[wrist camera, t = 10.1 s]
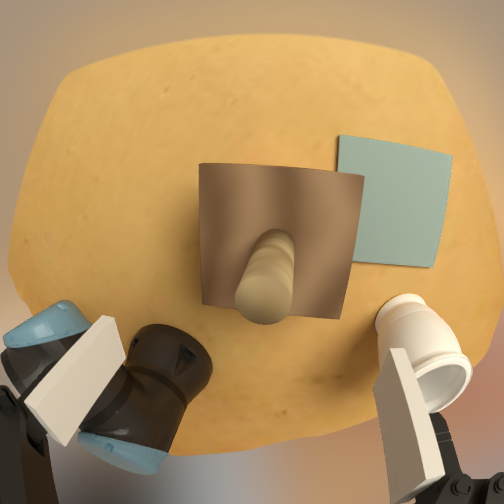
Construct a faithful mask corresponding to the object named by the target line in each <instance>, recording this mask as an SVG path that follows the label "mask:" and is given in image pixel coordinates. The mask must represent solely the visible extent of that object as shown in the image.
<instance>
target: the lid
mask: <svg viewBox="0 0 504 504" xmlns="http://www.w3.org/2000/svg"><path fill="white" fill-rule="evenodd" d="M364 179H365V176H363V175H359V174H351V173H344V172H336V171H327V170H318V169H308V168H297V167H285V166H271V165H253V164H229V163H201V164H199V233H200V263H201V285H202V303H203V304H204V305H211V306H218V307H225V308H233V309H238V311H239V312H240V314H241V315H242V316H243V317H245V318H246V319H247V320H249V321H251V322H253V323H257V324H262V325H269V324H274V323H277V322H279V321H281V320H282V319H284V318H285V317H286V316H287V315H293V316H303V317H315V318H327V319H340V315H341V311H342V307H343V303H344V298H345V294H346V289H347V285H348V280H349V275H350V270H351V265H352V260H353V254H354V249H355V243H356V237H357V231H358V225H359V218H360V211H361V204H362V196H363V188H364Z"/></svg>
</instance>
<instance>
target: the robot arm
mask: <svg viewBox="0 0 504 504" xmlns="http://www.w3.org/2000/svg"><path fill="white" fill-rule="evenodd" d="M3 341H4V344H5V346H6V347H7V349H5V350H4V351H3V352H2V353H1V354H0V504H59V502H58V497H57V493H56V489H55V484H54V479H53V473H52V468H51V461H50V454H49V446H48V440H47V437H46V434H47V433H49V434H50V436H51V437H52V438H53V439H54V440H55V441H57V442H59V443H60V444H62V445H64V446H66V445H67V443H68V442H69V440H70V439H71V437H72V436H73V434H74V432H75V431H76V430H77V428H80V430H81V432H79V433H78V442H79V443H80V444H81V445H82V446H83V447H84V448H85V449H86V450H87V451H89V452H90V453H92V454H93V455H95V456H97V457H98V458H100V459H102V460H104V461H106V462H108V463H110V464H112V465H114V466H117V467H119V468H122V469H124V470H127V471H130V472H134V473H137V474H143V475H151V474H154V473H156V472H157V471H158V470H159V469H160V466H161V465H162V463H163V461H164V459H165V457H167V456H168V452H169V449H170V447H171V444H172V442H173V439H174V437H175V434H176V432H177V430H178V427H179V425H180V422H181V420H182V417H183V415H184V412H185V410H186V408H187V405H188V404H189V403H190V402H191V401H192V400H193V399H194V398H195V397H196V396H197V395H198V394H199V393H200V392H201V391H202V390H203V389H204V388H205V387H206V386H207V384H208V382H209V380H210V377H211V375H212V371H213V366H212V361H211V358H210V356H209V354H208V353H207V351H206V350H205V349H204V347H203V346H202V345H201V344H200V343H199V342H198V341H197V340H195V339H194V338H193V337H192V336H190V335H189V334H187V333H185V332H183V331H181V330H179V329H177V328H174V327H171V326H168V325H162V324H152V325H147V326H145V327H143V328H141V329H140V330H139V331H138V333H137V334H136V335H135V336H134V338H133V339H132V341H131V344H130V347H129V351H128V356H127V360H126V364H125V366H124V365H123V364H122V363H123V362H124V360H125V359H126V355H125V352H124V349H123V346H122V343H121V340H120V336H119V333H118V330H117V326H116V322H115V319H114V317H109V316H105V315H102V316H101V317H100V318H99V319H98V320H97V321H96V322H95V323H94V324H92V323H91V322H89V321H88V320H87V319H86V318H85V316H84V315H83V314H82V313H81V311H80V310H79V309H78V307H77V306H76V305H75V304H74V303H73V302H71V301H69V300H61V301H59V302H57V303H55V304H53V305H51V306H50V307H48V308H46V309H45V310H43V311H41V312H40V313H38V314H36V315H35V316H33V317H31V318H30V319H28V320H27V321H25V322H23V323H22V324H20V325H19V326H17V327H16V328H14V329H12V330H11V331H9V332H8V333H6V334H5V335H4V336H3ZM373 392H374V397H375V401H376V406H377V412H378V417H379V422H380V428H381V434H382V440H383V446H384V453H385V459H386V467H387V475H388V484H389V494H390V504H401V503H405V502H409V501H410V500H411V499H413V498H414V497H415V499H416V503H414V504H504V472H499V473H497V474H495V475H494V476H493V477H491V478H490V479H471V477H469V476H468V475H467V474H463V473H462V471H461V469H460V466H459V462H458V458H457V455H456V451H455V448H454V445H453V442H452V441H451V439H452V438H451V435H450V433H449V429H448V426H447V423H446V420H445V419H444V418H443V417H442V415H441V414H440V413H439V412H434V413H428V410H427V407H426V404H425V401H424V398H423V396H422V393H421V390H420V387H419V384H418V382H417V379H416V376H415V374H414V371H413V368H412V366H411V363H410V361H409V358H408V356H407V353H406V351H405V348H390V349H389V351H388V354H387V357H386V359H385V361H384V364H383V366H382V369H381V371H380V373H379V376H378V378H377V380H376V382H375V385H374V387H373Z"/></svg>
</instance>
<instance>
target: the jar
mask: <svg viewBox="0 0 504 504" xmlns="http://www.w3.org/2000/svg"><path fill="white" fill-rule="evenodd" d="M375 328H376V331H377V334H378V360H379V368H380V371H381V369H382V366H383V364H384V361H385V359H386V357H387V354H388V351H389V349H390V348H405V351H406V353H407V356H408V358H409V361H410V363H411V366H412V368H413V371H414V374H415V376H416V379H417V382H418V384H419V387H420V390H421V393H422V396H423V398H424V401H425V404H426V407H427V410H428V413H434V412H438V411H440V410H442V409H443V408H445V407H446V406H448V405H449V404H451V403H452V402H453V401H454V400H455V399H456V398H458V397H459V396H460V394H461V393H462V392H463V391H464V390H465V388H466V387H467V385H468V383H469V381H470V379H471V376H472V371H473V369H472V364H471V362H470V361H469V359H468V358H467V357H466V356H465V355H463V354H462V352H461V349H460V346H459V343H458V341H457V339H456V337H455V335H454V333H453V331H452V330H451V328H450V327H449V326H448V325H447V323H446V322H445V321H444V320H443V319H442V318H440V317H439V316H438V315H437V314H436V313H435V312H434V311H433V310H432V309H431V308H429V307H428V306H426V304H425V302H424V300H423V299H422V298H421V297H420V296H418V295H415V294H410V293H407V294H401V295H398V296H396V297H394V298H392V299H391V300H389V301H388V302H387V303H386V304H385V305H384V306H383V307H382V308H381V309H380V311H379V313H378V315H377V317H376V322H375Z"/></svg>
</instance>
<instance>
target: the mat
mask: <svg viewBox="0 0 504 504" xmlns="http://www.w3.org/2000/svg"><path fill="white" fill-rule="evenodd" d="M451 167H452V155H448V154H444V153H440V152H436V151H432V150H427V149H423V148H418V147H414V146H409V145H404V144H398V143H393V142H387V141H381V140H375V139H369V138H362V137H354V136H346V135H339V150H338V166H337V172H344V173H351V174H359V175H363V176H365V179H364V188H363V196H362V204H361V211H360V218H359V225H358V231H357V237H356V243H355V249H354V254H353V260H352V261H357V262H370V263H382V264H395V265H407V266H420V267H432V268H433V266H434V262H435V258H436V254H437V250H438V246H439V242H440V237H441V233H442V228H443V223H444V217H445V212H446V206H447V199H448V192H449V185H450V177H451Z"/></svg>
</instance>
